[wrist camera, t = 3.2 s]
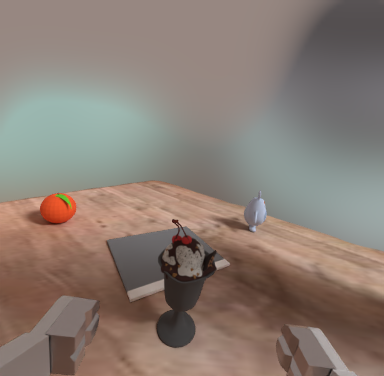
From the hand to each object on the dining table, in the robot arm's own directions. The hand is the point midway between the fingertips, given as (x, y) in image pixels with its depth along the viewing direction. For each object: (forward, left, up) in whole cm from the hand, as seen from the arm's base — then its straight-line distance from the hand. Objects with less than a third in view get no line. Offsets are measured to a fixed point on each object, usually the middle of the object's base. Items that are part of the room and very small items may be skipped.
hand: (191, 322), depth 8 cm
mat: (-13, -26, -16) cm, 33 cm away
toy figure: (-42, -26, -16) cm, 52 cm away
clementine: (+5, -45, -16) cm, 48 cm away
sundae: (-7, -10, -16) cm, 20 cm away
